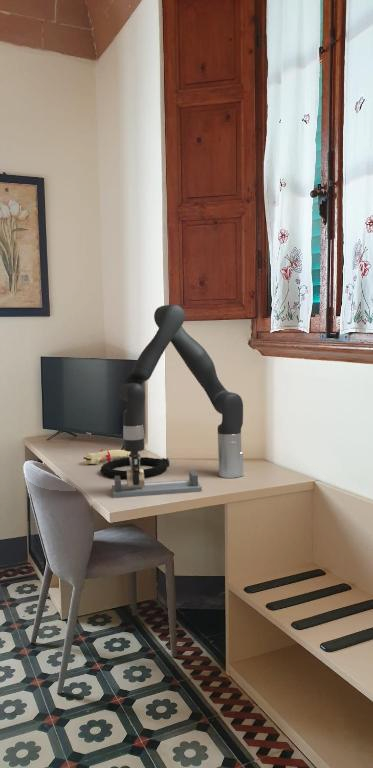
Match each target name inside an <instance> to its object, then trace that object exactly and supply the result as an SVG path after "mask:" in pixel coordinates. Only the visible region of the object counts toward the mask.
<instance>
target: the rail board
mask: <svg viewBox="0 0 373 768" xmlns="http://www.w3.org/2000/svg"><path fill="white" fill-rule="evenodd" d="M114 477H115V478H114V484H112V485H111V488H112V489H111V490H112V499H113V498H114V499H117V498H118V499H119V498H129V497H143V496H145V497H146V496H156V495H157V496H158V495H168V494H169V495H170V494H172V495H173V494H183V493H184V494H185V493H186V494H187V493H197V492H198V493H199V492H200V491H201V492H203V487H202V486H201V484H200V483H199V479H198V478H199V476H198V474H197V472H196V471H195V470H194V469H193V470H188V477H189V479H182V480H180V479H179V480H166V481H153V482H144V485H143V486H129V487H128V484H127V483H126V484H125V483H124V484H122V479H120V475H119V476H114Z"/></svg>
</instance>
